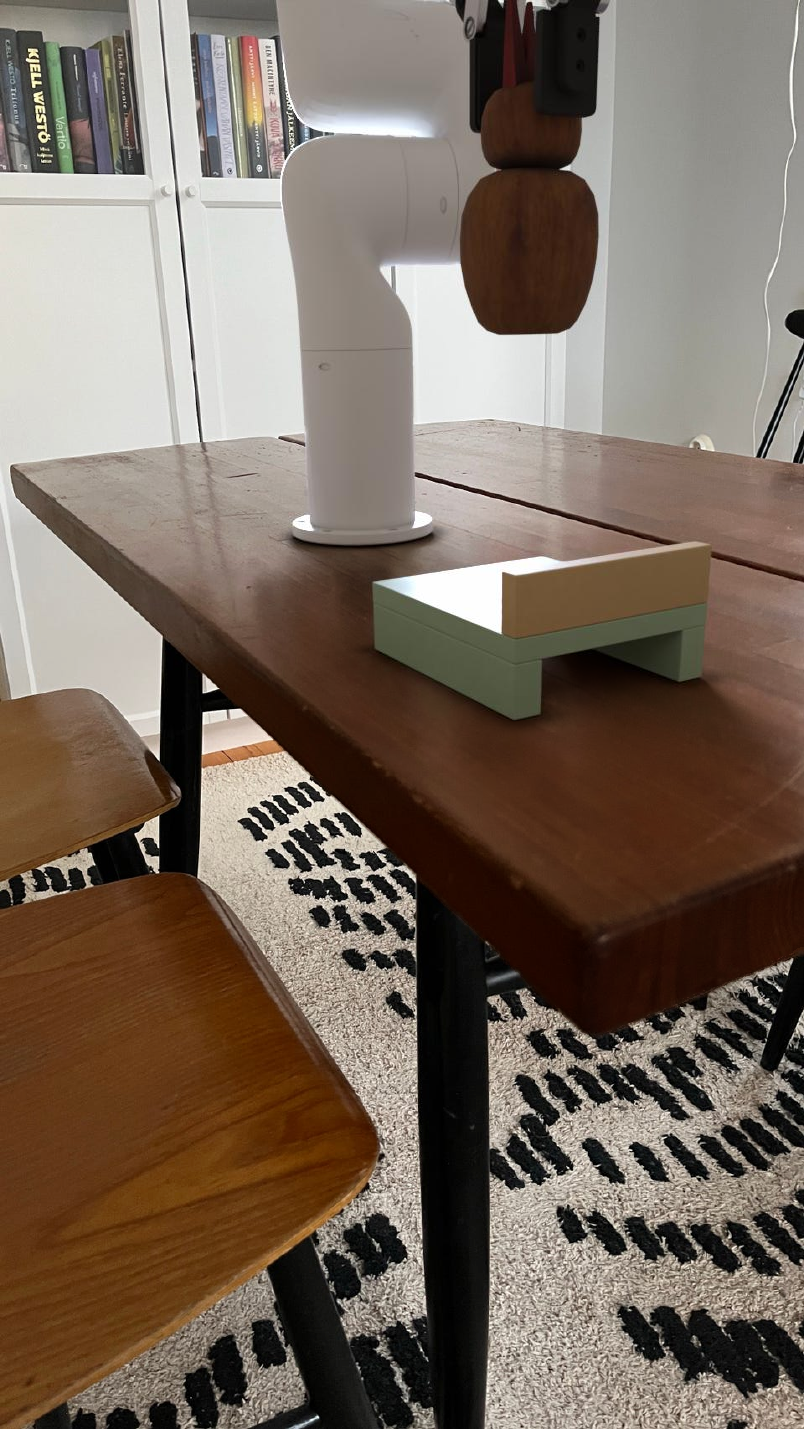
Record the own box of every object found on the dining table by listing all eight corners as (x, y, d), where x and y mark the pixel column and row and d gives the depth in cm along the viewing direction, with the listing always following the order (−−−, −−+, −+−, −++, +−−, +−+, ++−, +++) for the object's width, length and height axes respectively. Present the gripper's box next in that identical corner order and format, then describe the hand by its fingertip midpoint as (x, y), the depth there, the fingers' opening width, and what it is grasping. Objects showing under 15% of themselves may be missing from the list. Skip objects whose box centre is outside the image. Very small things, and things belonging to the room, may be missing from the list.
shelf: (374, 649, 61) (370, 529, 59) (541, 618, 67) (544, 507, 64) (513, 721, 50) (516, 575, 47) (701, 677, 55) (712, 544, 53)
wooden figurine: (502, 336, 50) (506, -36, 45) (443, 336, 55) (440, 0, 50) (615, 332, 53) (631, -17, 48) (549, 332, 58) (557, 15, 53)
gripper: (367, -288, 50) (379, 146, 56) (600, -528, 36) (580, 84, 42) (498, -251, 53) (495, 154, 60) (756, -458, 39) (717, 98, 46)
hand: (530, 120), depth 51 cm, fingers closed on wooden figurine, 4 cm apart
